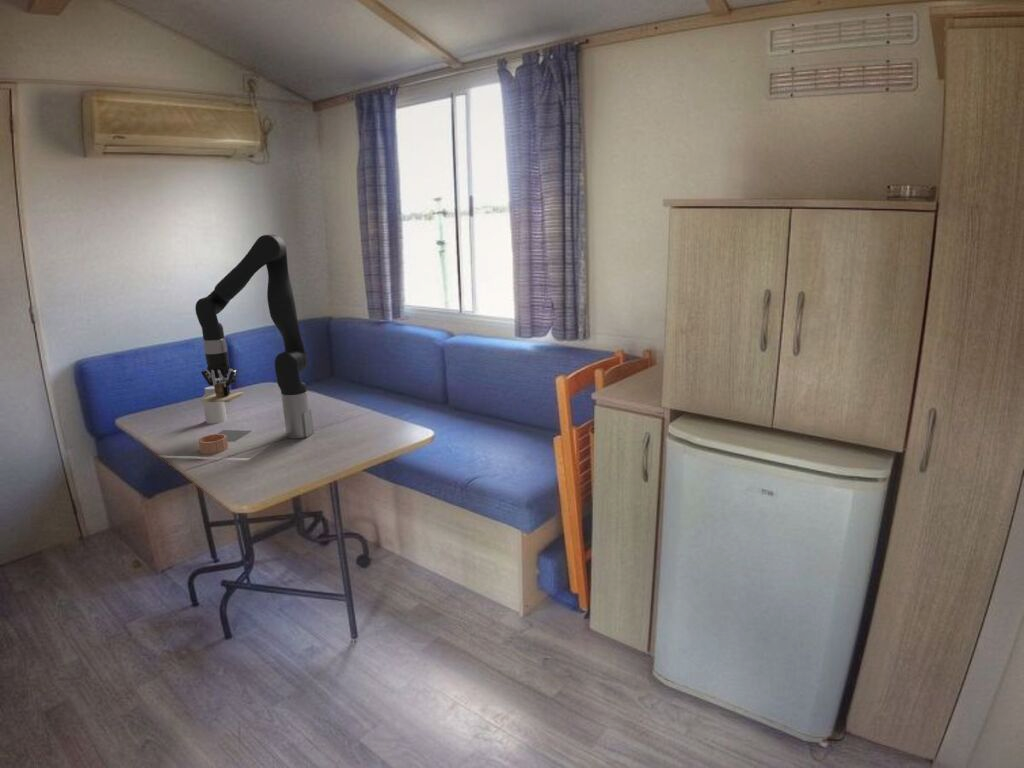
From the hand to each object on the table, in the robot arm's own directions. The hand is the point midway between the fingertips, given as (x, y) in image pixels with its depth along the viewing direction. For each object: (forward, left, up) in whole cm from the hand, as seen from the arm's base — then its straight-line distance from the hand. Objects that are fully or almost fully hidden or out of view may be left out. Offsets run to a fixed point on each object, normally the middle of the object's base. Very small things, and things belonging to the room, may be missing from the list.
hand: (223, 395), depth 231 cm
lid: (0, 0, -1) cm, 1 cm away
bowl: (-3, +14, -17) cm, 22 cm away
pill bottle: (+16, -17, -17) cm, 29 cm away
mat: (0, 0, -17) cm, 17 cm away
